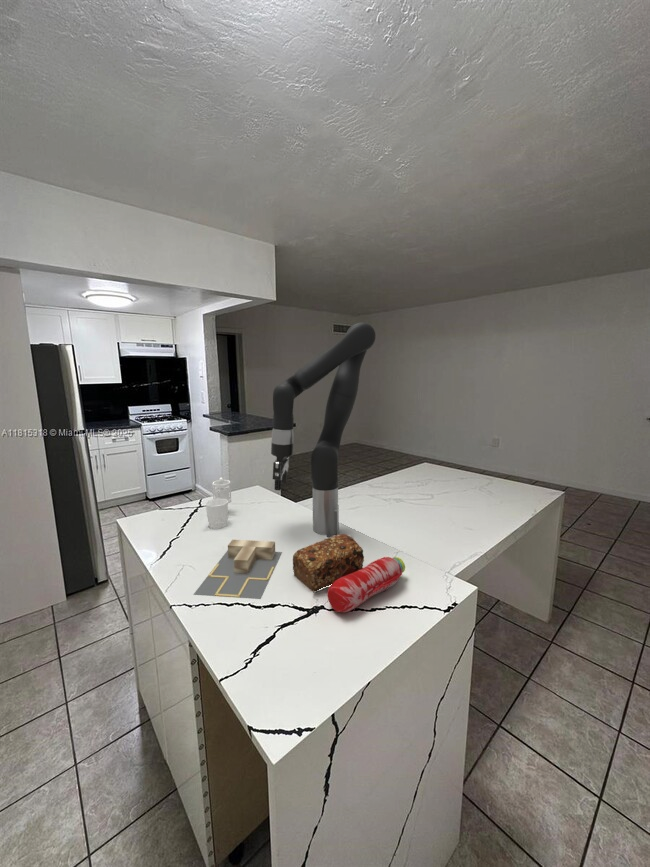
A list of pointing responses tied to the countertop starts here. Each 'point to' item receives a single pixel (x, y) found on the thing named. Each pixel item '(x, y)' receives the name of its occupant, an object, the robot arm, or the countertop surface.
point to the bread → (327, 561)
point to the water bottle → (364, 583)
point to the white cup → (217, 513)
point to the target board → (238, 579)
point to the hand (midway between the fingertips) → (280, 486)
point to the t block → (249, 553)
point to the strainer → (222, 490)
